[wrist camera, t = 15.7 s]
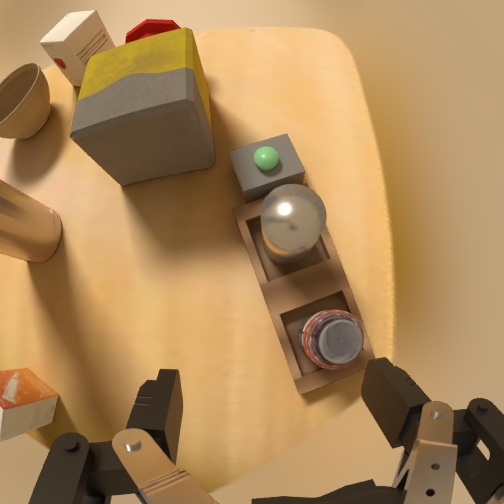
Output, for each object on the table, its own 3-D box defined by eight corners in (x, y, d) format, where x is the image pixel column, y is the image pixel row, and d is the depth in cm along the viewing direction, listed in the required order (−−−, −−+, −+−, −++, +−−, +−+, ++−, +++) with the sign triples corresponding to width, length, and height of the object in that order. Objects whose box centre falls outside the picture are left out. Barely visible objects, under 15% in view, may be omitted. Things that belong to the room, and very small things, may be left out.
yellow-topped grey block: (206, 58, 47) (191, -6, 32) (216, 168, 42) (192, 102, 27) (129, 76, 47) (99, 22, 33) (119, 188, 42) (65, 138, 27)
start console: (246, 202, 40) (243, 188, 35) (232, 165, 42) (227, 147, 37) (302, 184, 40) (306, 167, 36) (285, 148, 42) (287, 129, 37)
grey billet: (272, 273, 38) (274, 256, 27) (256, 228, 39) (251, 196, 28) (317, 256, 38) (336, 233, 27) (300, 213, 39) (310, 176, 28)
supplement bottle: (353, 342, 35) (385, 351, 24) (312, 368, 35) (328, 389, 24) (329, 301, 36) (353, 295, 25) (287, 327, 36) (294, 332, 25)
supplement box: (71, 86, 48) (37, 42, 34) (96, 57, 50) (68, 11, 35) (97, 91, 47) (62, 41, 32) (124, 59, 49) (96, 8, 34)
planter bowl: (32, 161, 45) (-2, 136, 34) (1, 144, 47) (-28, 123, 37) (77, 94, 47) (52, 62, 37) (40, 87, 50) (17, 61, 39)
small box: (59, 394, 36) (3, 410, 23) (52, 423, 35) (0, 443, 22) (27, 366, 37) (-29, 372, 24) (21, 395, 36) (-32, 405, 23)
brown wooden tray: (370, 360, 35) (376, 362, 33) (297, 390, 35) (299, 394, 33) (305, 190, 40) (307, 183, 38) (234, 214, 40) (232, 208, 38)
